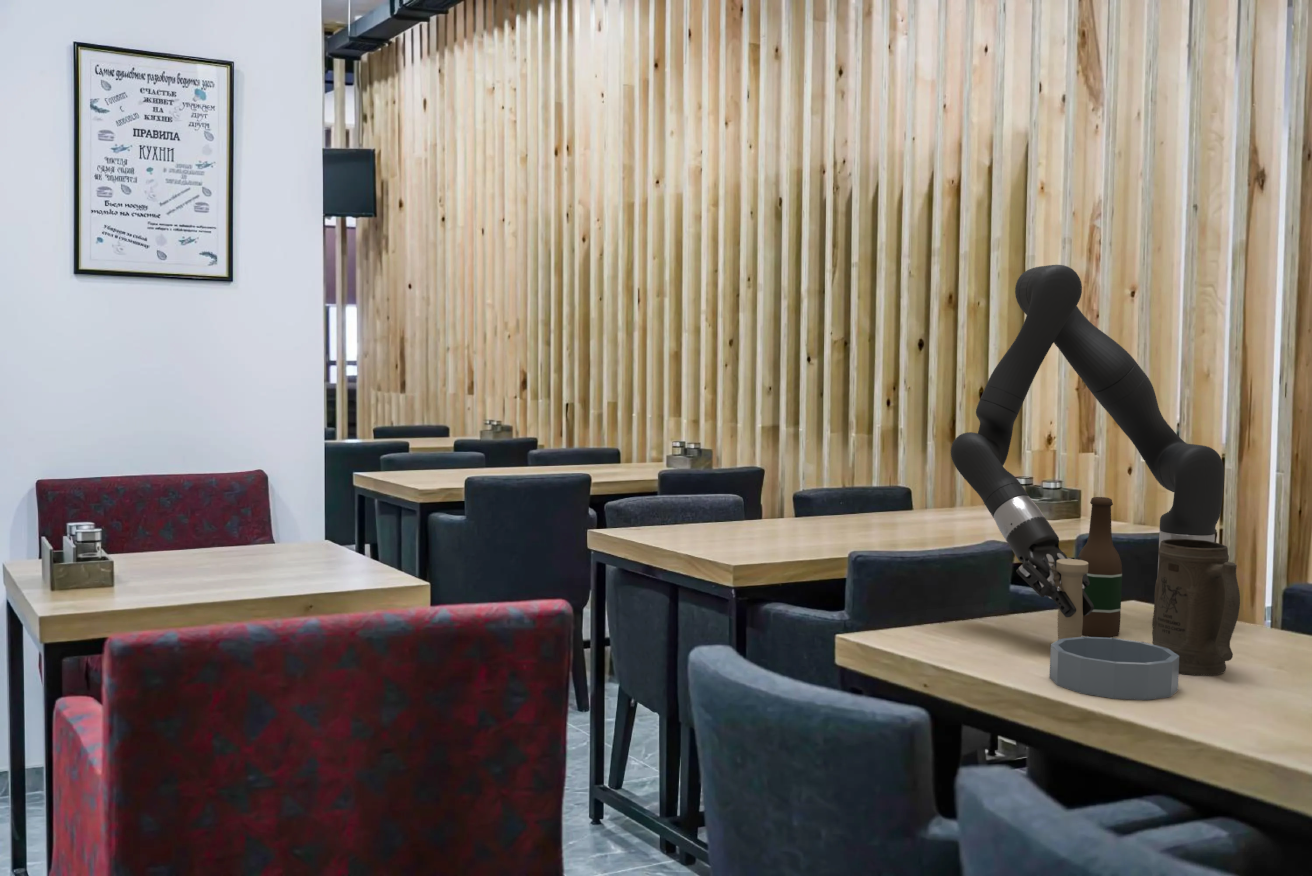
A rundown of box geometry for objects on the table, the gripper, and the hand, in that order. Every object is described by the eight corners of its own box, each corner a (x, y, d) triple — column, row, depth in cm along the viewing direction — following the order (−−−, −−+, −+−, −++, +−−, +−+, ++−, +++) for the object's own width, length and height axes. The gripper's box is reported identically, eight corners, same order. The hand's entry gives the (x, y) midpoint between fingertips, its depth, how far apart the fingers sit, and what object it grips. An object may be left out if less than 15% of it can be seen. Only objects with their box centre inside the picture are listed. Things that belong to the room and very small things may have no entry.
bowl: (1111, 665, 186) (1112, 633, 185) (1202, 692, 170) (1203, 658, 170) (1026, 675, 179) (1028, 642, 178) (1113, 704, 163) (1115, 668, 163)
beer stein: (1131, 660, 189) (1143, 537, 186) (1181, 655, 193) (1193, 534, 191) (1210, 691, 175) (1224, 558, 172) (1263, 685, 179) (1277, 555, 177)
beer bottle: (1124, 632, 210) (1129, 497, 209) (1114, 640, 204) (1120, 501, 202) (1078, 626, 214) (1083, 494, 213) (1068, 634, 208) (1073, 497, 206)
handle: (1084, 650, 195) (1087, 560, 195) (1085, 659, 189) (1088, 566, 188) (1053, 647, 197) (1056, 558, 196) (1053, 656, 191) (1056, 564, 190)
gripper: (1007, 517, 195) (1064, 603, 185) (1067, 513, 202) (1124, 596, 192) (982, 544, 200) (1036, 630, 190) (1042, 540, 207) (1096, 622, 197)
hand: (1080, 613), depth 191 cm, fingers closed on handle, 3 cm apart
